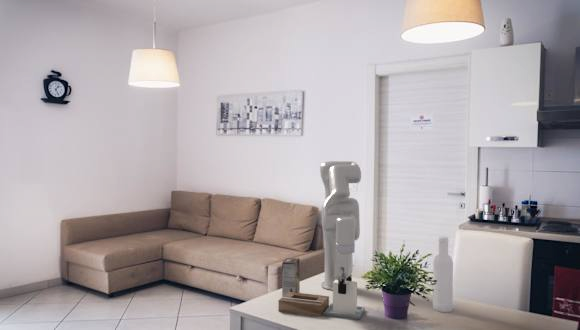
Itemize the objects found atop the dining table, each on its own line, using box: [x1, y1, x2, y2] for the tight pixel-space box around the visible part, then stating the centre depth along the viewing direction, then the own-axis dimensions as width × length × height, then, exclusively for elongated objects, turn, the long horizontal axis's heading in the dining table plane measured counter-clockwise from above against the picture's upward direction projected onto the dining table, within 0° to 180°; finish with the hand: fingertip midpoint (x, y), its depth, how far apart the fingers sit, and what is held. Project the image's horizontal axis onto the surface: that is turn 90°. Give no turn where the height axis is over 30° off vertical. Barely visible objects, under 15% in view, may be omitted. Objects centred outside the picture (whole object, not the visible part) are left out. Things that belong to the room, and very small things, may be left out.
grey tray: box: [323, 302, 366, 321], centre depth 193 cm, size 11×14×2 cm
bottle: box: [432, 235, 454, 313], centre depth 197 cm, size 8×8×30 cm
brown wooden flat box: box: [278, 292, 330, 317], centre depth 198 cm, size 12×18×5 cm, turn 70°
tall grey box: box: [281, 257, 301, 298], centre depth 215 cm, size 9×6×16 cm
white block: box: [332, 280, 358, 314], centre depth 193 cm, size 4×9×12 cm, turn 71°
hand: (344, 290), depth 193 cm, fingers open, 9 cm apart
